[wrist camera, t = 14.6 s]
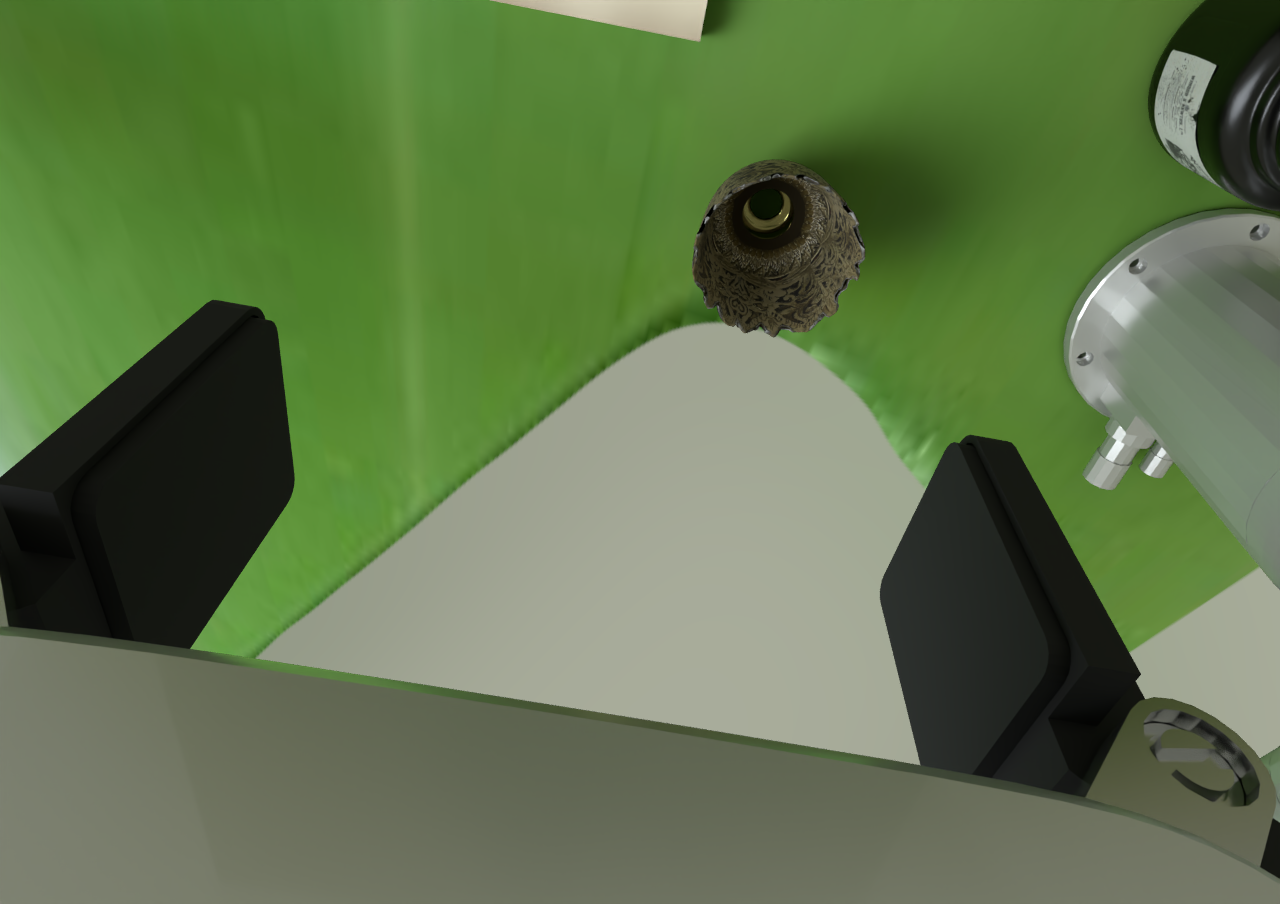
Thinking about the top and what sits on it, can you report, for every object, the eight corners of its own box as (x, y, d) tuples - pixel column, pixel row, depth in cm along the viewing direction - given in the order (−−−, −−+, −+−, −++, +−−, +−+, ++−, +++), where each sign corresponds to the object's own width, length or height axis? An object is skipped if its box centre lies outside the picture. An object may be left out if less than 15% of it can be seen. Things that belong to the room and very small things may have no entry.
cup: (783, 294, 44) (796, 365, 38) (668, 228, 42) (662, 291, 36) (868, 176, 40) (900, 233, 34) (746, 98, 38) (755, 142, 32)
